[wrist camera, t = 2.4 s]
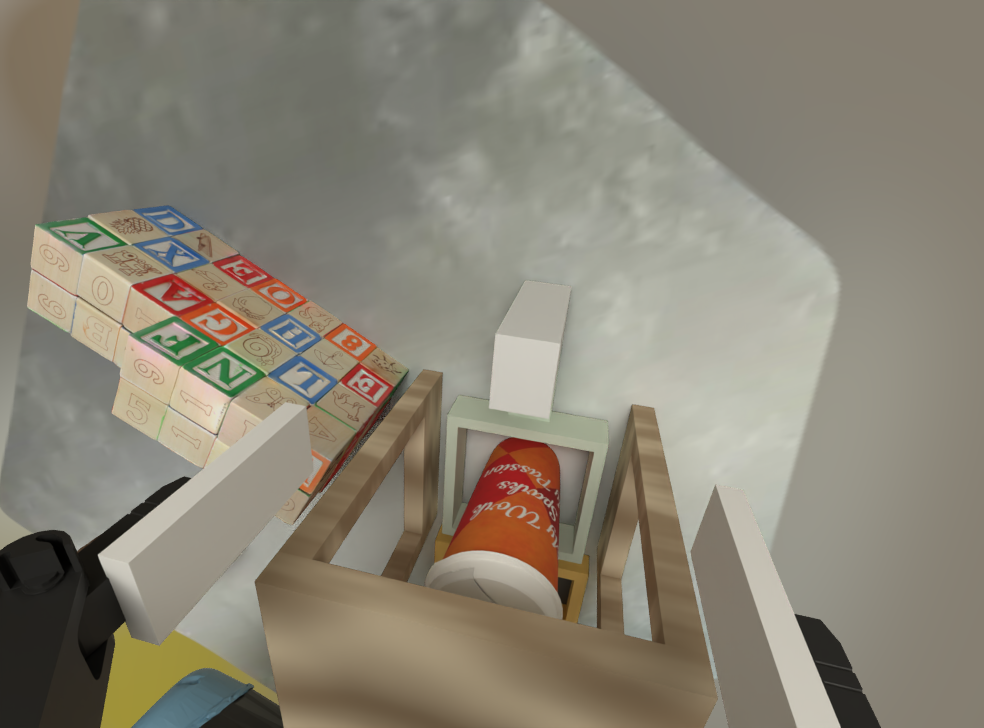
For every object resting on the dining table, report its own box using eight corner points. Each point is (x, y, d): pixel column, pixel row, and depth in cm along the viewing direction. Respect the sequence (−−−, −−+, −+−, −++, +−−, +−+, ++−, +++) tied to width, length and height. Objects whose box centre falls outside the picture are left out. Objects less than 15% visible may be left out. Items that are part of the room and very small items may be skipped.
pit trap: (576, 610, 42) (575, 631, 41) (439, 578, 44) (433, 596, 43) (589, 555, 39) (588, 574, 38) (442, 523, 41) (435, 540, 40)
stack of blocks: (152, 271, 37) (-37, 322, 26) (170, 202, 34) (-34, 227, 23) (377, 422, 38) (290, 530, 27) (412, 368, 36) (330, 465, 25)
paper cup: (593, 456, 35) (590, 622, 23) (542, 518, 39) (516, 691, 26) (503, 405, 35) (452, 545, 23) (460, 472, 39) (395, 626, 26)
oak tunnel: (615, 552, 39) (629, 878, 21) (420, 510, 41) (292, 771, 24) (654, 408, 33) (718, 699, 15) (423, 369, 35) (254, 581, 18)
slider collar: (582, 535, 38) (577, 653, 29) (452, 507, 40) (410, 611, 31) (635, 294, 29) (652, 357, 20) (465, 271, 31) (411, 321, 22)
